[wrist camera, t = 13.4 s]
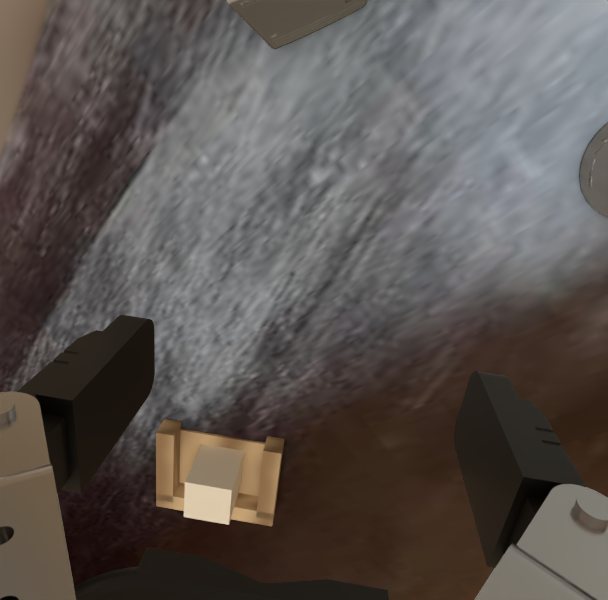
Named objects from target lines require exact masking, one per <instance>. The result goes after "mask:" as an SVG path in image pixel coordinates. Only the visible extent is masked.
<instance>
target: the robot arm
mask: <svg viewBox="0 0 608 600" xmlns="http://www.w3.org/2000/svg"><path fill="white" fill-rule="evenodd" d="M580 184H581V189H582V192H583V194H584V196H585V198H586V200H587V202H588V203H589V204H590V205H591V206H592V208H593V209H594V210H596V211H597V212H599V213H600V214H602V215H604V216H606V217H608V123H607V124H606V125H605V126H604V127H603V128H602V129H601V130H600V131H599V132H598V133H597V134H596V135H595V137H594V138H593V140H592V141H591V143H590V144H589V145H588V148H587V150H586V152H585V154H584V156H583V160H582V164H581V168H580ZM154 372H155V367H154V324H153V321H152V320H151V319H145V318H139V317H132V316H126V315H120V316H119V317H117V318H116V319H115V320H114V321H113V322H112V323H111V324H110V325H109V326H108V327H107V328H106V329H105V330H104V331H97V330H96V331H94V332H92V333H90V334H87V335H85V336H83V337H81V338H78V339H77V340H75V341H74V342H73V343H72V344H71V345H70V346H69V347H67V348H66V349H65V350H64V353H61V354H60V355H58V356H57V357H56V358H55V359H54V361H53V362H50V363H49V364H48V365H47V366H46V367H45V368H44V369H42V370H41V371H40V372H39V373H38V374H37V375H36V376H34V377H33V378H32V379H31V380H30V381H29V382H28V383H26V384H25V385H24V386H23V387H22V388H21V389H20V390H18V391H17V392H2V393H0V600H389V599H388V590H384V589H378V588H373V587H367V586H362V585H356V584H351V583H345V582H339V581H334V580H328V579H326V580H312V581H298V582H283V583H261V582H258V581H256V580H253V579H251V578H249V577H247V576H245V575H243V574H240V573H238V572H236V571H234V570H232V569H229V568H227V567H225V566H223V565H221V564H219V563H216V562H214V561H212V560H210V559H208V558H205V557H200V556H195V555H189V554H183V553H178V552H172V551H167V550H161V549H156V548H150V547H147V549H146V551H145V553H144V555H143V557H142V559H141V561H140V564H139V566H138V567H133V568H126V569H120V570H115V571H111V572H108V573H104V574H101V575H98V576H95V577H93V578H90V579H88V580H85V581H83V582H81V583H79V584H77V585H75V586H74V584H73V579H72V573H71V568H70V562H69V557H68V551H67V546H66V540H65V534H64V529H63V523H62V518H61V512H60V507H59V501H58V496H57V494H58V492H59V491H60V490H64V491H70V492H75V493H82V491H83V490H84V488H85V487H86V486H87V484H88V483H89V481H90V480H91V478H92V477H93V475H94V474H95V473H96V471H97V470H98V468H99V467H100V465H101V464H102V462H103V461H104V459H105V458H106V457H107V455H108V454H109V452H110V451H111V449H112V448H113V446H114V445H115V444H116V442H117V441H118V439H119V438H120V436H121V435H122V433H123V432H124V431H125V429H126V428H127V426H128V425H129V423H130V422H131V420H132V419H133V418H134V416H135V415H136V413H137V412H138V410H139V409H140V407H141V406H142V405H143V403H144V402H145V400H146V399H147V397H148V396H149V394H150V391H151V388H152V385H153V381H154ZM454 443H455V450H456V453H457V457H458V461H459V464H460V468H461V472H462V475H463V479H464V483H465V486H466V490H467V494H468V497H469V501H470V504H471V508H472V512H473V515H474V519H475V523H476V526H477V530H478V534H479V537H480V541H481V545H482V548H483V552H484V556H485V559H486V563H487V566H488V567H494V568H495V569H494V571H493V572H492V574H491V575H490V577H489V578H488V580H487V581H486V583H485V584H484V586H483V587H482V589H481V591H480V592H479V594H478V595H477V597H476V598H475V600H608V498H607V497H605V496H603V495H602V494H600V493H598V492H596V491H594V490H591V489H589V488H586V486H585V484H584V483H583V481H582V479H581V478H580V476H579V474H578V472H577V471H576V469H575V467H574V465H573V464H572V462H571V460H570V459H569V457H568V455H567V453H566V452H565V450H564V448H563V446H560V441H559V440H558V438H557V436H556V434H555V433H553V429H552V427H551V426H550V424H549V422H548V421H547V419H546V417H545V415H544V414H543V413H542V412H541V411H539V410H538V409H537V408H536V407H535V406H534V405H533V404H532V403H531V402H529V401H528V400H526V399H519V397H518V395H517V393H516V391H515V389H514V387H513V385H512V383H511V382H510V380H509V378H508V377H507V376H503V375H497V374H491V373H484V372H478V371H475V372H473V373H472V375H471V377H470V380H469V383H468V386H467V389H466V392H465V396H464V399H463V402H462V405H461V409H460V412H459V415H458V418H457V422H456V426H455V433H454Z"/></svg>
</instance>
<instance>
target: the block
mask: <svg viewBox="0 0 608 600" xmlns="http://www.w3.org/2000/svg"><path fill="white" fill-rule="evenodd" d="M243 458H244V451H241V450H235V449H229V448H224V447H218V446H212V445H206V444H202V445H201V447H200V449H199V451H198V454H197V456H196V458H195V460H194V463H193V465H192V467H191V469H190V472H189V474H188V476H187V478H186V481H185V493H184V517H188V518H194V519H199V520H205V521H210V522H216V523H222V524H227V525H229V523H230V519H231V516H232V513H233V509H234V506H235V502H236V499H237V496H238V492H239V489H240V486H241V480H242V469H243Z"/></svg>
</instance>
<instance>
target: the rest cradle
mask: <svg viewBox="0 0 608 600" xmlns="http://www.w3.org/2000/svg"><path fill="white" fill-rule="evenodd" d="M284 440H285V439H283V438H277V437H271V436H267V439H266V443H265V442H259V441H253V440H247V439H241V438H235V437H229V436H223V435H217V434H211V433H205V432H199V431H193V430H187V429H181V421H175V420H169V419H164V420H163V422H162V424H161V425H160V427H159V429H158V430H157V432H156V506H159V507H165V508H170V509H176V510H182V511H184V493H185V481H186V478H187V476H188V474H189V472H190V469H191V467H192V465H193V463H194V460H195V458H196V456H197V454H198V451H199V449H200V447H201V445H202V444H206V445H212V446H218V447H224V448H229V449H235V450H241V451H244V458H243V469H242V480H241V486H240V489H239V492H238V496H237V499H236V502H235V506H234V509H233V513H232V516H231V519H233V520H239V521H245V522H250V523H256V524H262V525H267V526H272V524H273V519H274V514H275V508H276V500H277V493H278V485H279V478H280V470H281V463H282V455H283V447H284Z"/></svg>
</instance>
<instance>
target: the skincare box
mask: <svg viewBox="0 0 608 600" xmlns="http://www.w3.org/2000/svg"><path fill="white" fill-rule="evenodd" d="M226 1H227V3H228V4H229V5H230V6H231V7H232V8H233V9H234V10H235V11H236V12H237V13H238V14H239V15H240V16H241V17H242V18H243V19H244V20H245V21H246V22H247V23H248V24H249V25H250V26H251V27H252V28H253V29H254V30H255V31H256V32H257V33H258V34H259V35H260V36H261V37H262V38H263V39H264V40H265V42H266V43H267V44H268V45H269V46H271V47H272V48H273V49H275V48H278V47H280V46H283V45H285V44H287V43H290V42H292V41H294V40H297V39H299V38H301V37H303V36H306V35H308V34H310V33H312V32H314V31H317V30H319V29H321V28H323V27H325V26H327V25H329V24H331V23H333V22H335V21H337V20H339V19H341V18H343V17H345V16H347V15H349V14H351V13H352V12H354V11H356V10H358V9H360V8H362V7H363V6H365V5H366V0H226Z"/></svg>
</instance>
